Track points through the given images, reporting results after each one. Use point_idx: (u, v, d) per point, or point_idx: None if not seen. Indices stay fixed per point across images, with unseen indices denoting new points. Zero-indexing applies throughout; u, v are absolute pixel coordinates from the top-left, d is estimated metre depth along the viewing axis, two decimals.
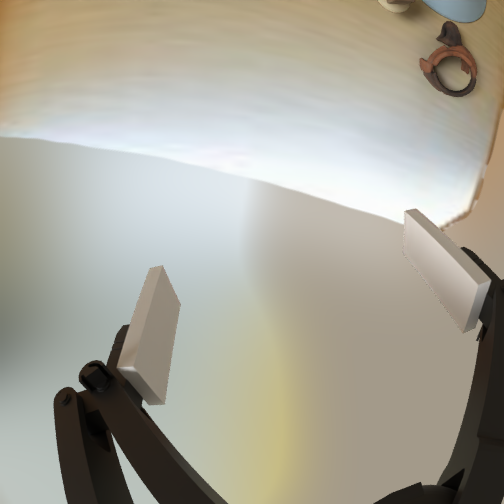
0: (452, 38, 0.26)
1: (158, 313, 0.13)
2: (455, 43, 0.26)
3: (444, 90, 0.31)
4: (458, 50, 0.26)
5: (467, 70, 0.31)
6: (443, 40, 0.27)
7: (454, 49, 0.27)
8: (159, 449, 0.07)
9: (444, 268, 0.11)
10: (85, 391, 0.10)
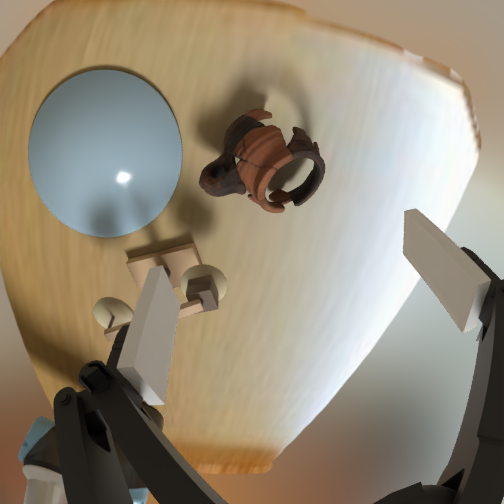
0: (232, 190, 0.27)
1: (158, 313, 0.13)
2: (239, 184, 0.27)
3: (317, 186, 0.29)
4: (251, 183, 0.27)
5: (267, 117, 0.27)
6: (238, 193, 0.29)
7: (251, 189, 0.27)
8: (159, 449, 0.07)
9: (444, 268, 0.11)
10: (85, 391, 0.10)
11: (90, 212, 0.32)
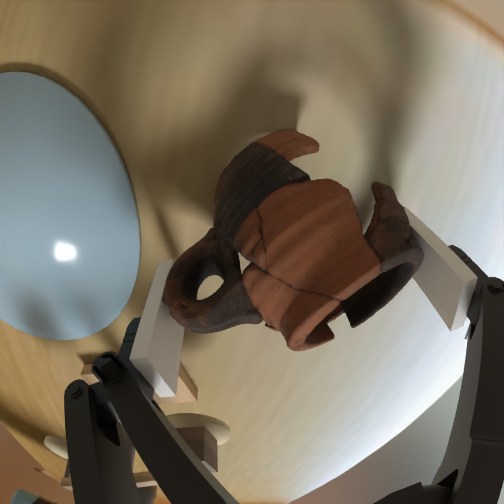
0: (233, 323, 0.13)
1: None
2: (248, 314, 0.12)
3: None
4: (275, 315, 0.12)
5: (310, 151, 0.12)
6: None
7: (275, 323, 0.12)
8: (169, 443, 0.07)
9: (431, 266, 0.12)
10: (96, 383, 0.10)
11: (18, 305, 0.18)
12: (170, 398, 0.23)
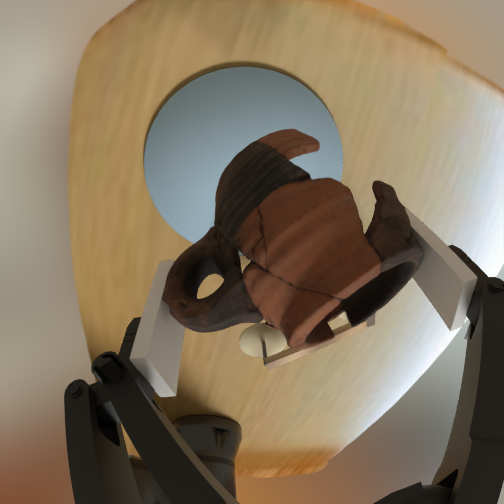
0: (234, 322, 0.13)
1: None
2: (249, 313, 0.12)
3: (397, 292, 0.14)
4: (276, 313, 0.12)
5: (311, 149, 0.12)
6: None
7: (276, 322, 0.12)
8: (169, 443, 0.07)
9: (431, 266, 0.12)
10: (96, 383, 0.10)
11: None
12: None
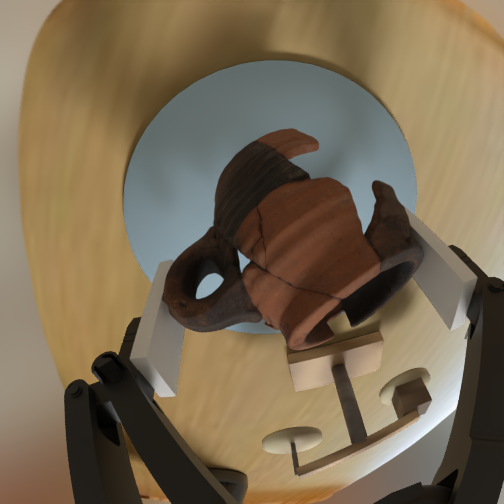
0: (233, 321, 0.13)
1: None
2: (248, 313, 0.12)
3: (397, 292, 0.14)
4: (275, 313, 0.12)
5: (310, 149, 0.12)
6: None
7: (275, 321, 0.12)
8: (169, 443, 0.07)
9: (431, 266, 0.12)
10: (96, 383, 0.10)
11: None
12: (360, 371, 0.27)
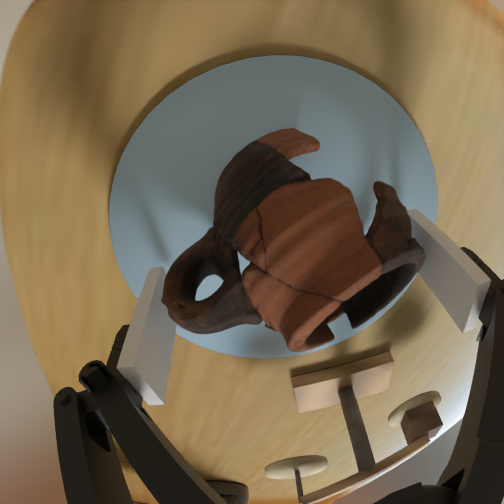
0: (233, 323, 0.12)
1: (158, 313, 0.13)
2: (248, 315, 0.12)
3: None
4: (275, 316, 0.12)
5: (310, 149, 0.12)
6: None
7: (275, 324, 0.12)
8: (159, 449, 0.07)
9: (444, 268, 0.11)
10: (85, 391, 0.10)
11: (250, 327, 0.20)
12: (368, 391, 0.25)
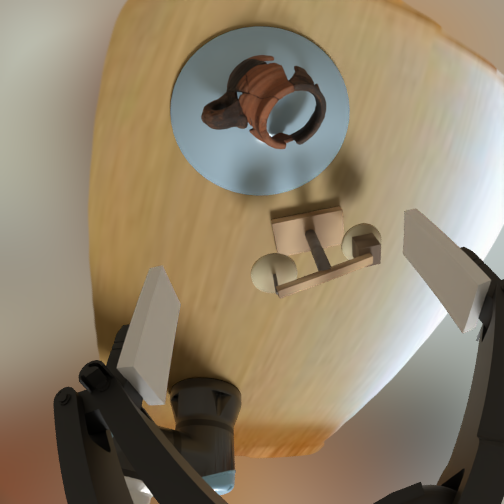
0: (234, 122, 0.26)
1: (158, 313, 0.13)
2: (241, 117, 0.26)
3: (319, 124, 0.28)
4: (252, 114, 0.25)
5: (269, 59, 0.26)
6: (240, 128, 0.27)
7: (253, 121, 0.26)
8: (158, 449, 0.07)
9: (444, 268, 0.11)
10: (85, 391, 0.10)
11: (243, 167, 0.34)
12: (329, 241, 0.39)
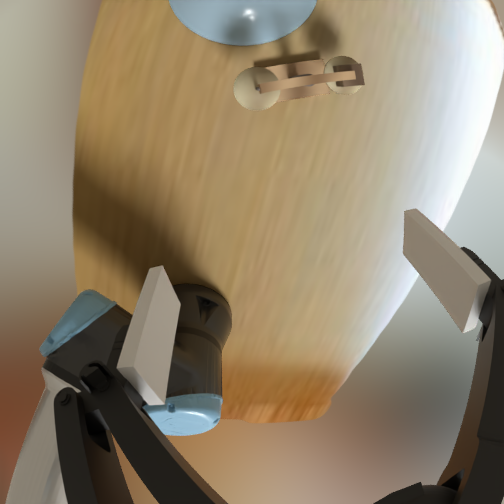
0: None
1: (158, 313, 0.13)
2: None
3: None
4: None
5: None
6: None
7: None
8: (159, 450, 0.07)
9: (444, 268, 0.11)
10: (85, 391, 0.10)
11: (227, 22, 0.30)
12: (313, 90, 0.35)
